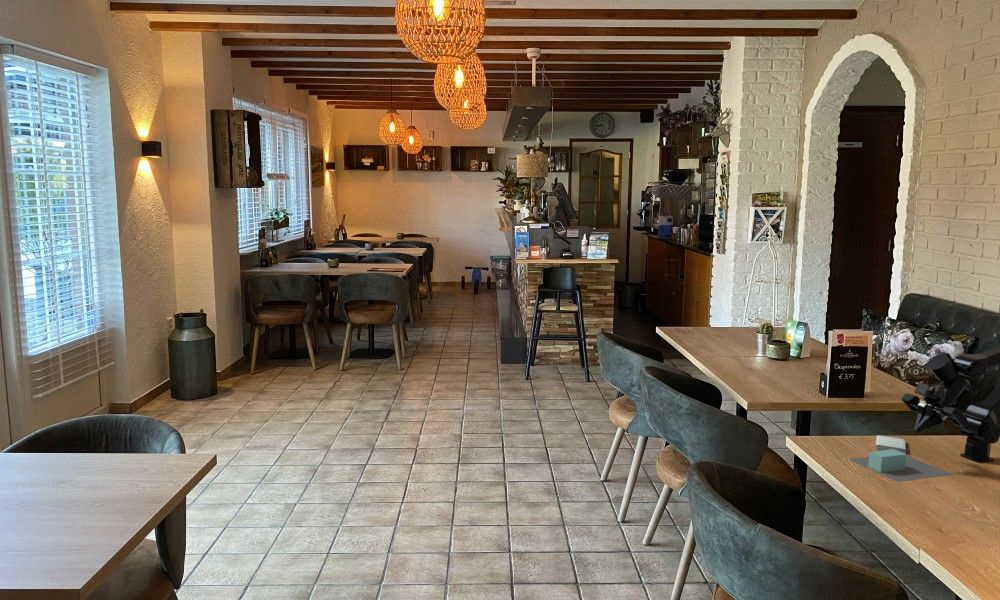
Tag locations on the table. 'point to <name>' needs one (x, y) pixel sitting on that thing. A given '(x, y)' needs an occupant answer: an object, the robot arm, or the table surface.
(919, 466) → the rubber mat
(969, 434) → the robot arm
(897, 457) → the teal block
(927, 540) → the table surface
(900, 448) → the hard drive
